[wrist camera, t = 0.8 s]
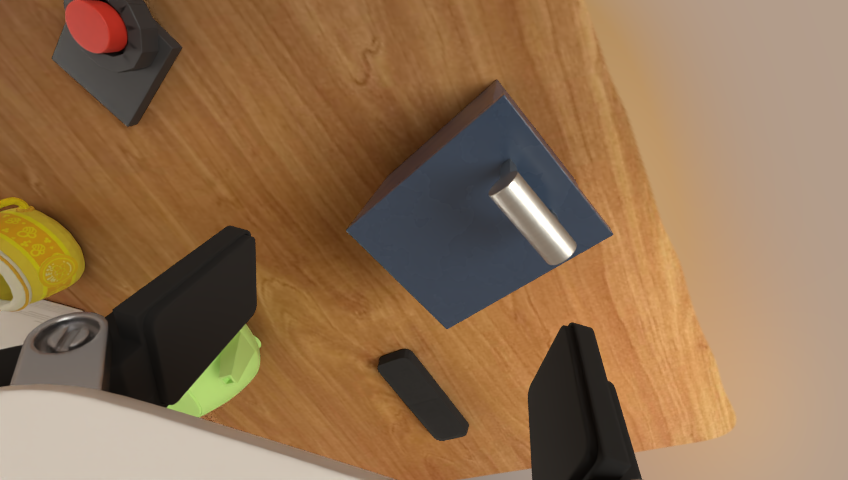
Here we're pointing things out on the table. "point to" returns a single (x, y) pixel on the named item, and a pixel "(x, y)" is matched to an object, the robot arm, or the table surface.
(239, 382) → the teapot
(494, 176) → the blue drawer with handle
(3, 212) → the mug
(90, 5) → the button
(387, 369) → the remote control
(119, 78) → the switch block
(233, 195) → the table surface
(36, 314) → the white product box
